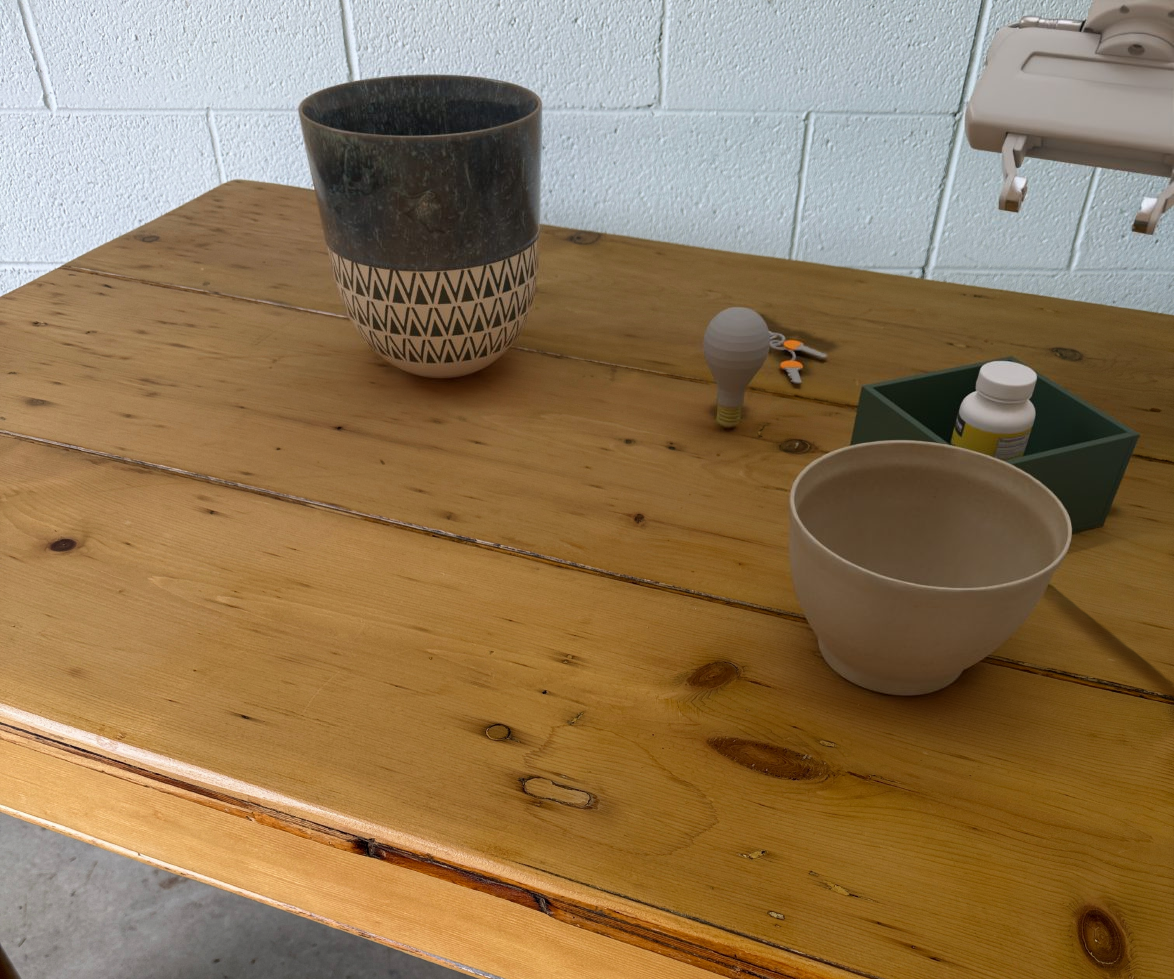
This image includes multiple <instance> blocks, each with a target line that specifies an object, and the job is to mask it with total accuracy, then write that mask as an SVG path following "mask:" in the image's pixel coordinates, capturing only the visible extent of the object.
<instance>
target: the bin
mask: <svg viewBox="0 0 1174 979" xmlns="http://www.w3.org/2000/svg"><path fill="white" fill-rule="evenodd" d="M994 361H1008V362H1015V363H1019V364H1022V365H1024V366H1027V367H1029V368H1031V369H1032V370H1033V371H1034V372H1035V373H1036V375H1037V380H1036V383H1035V387H1034V390H1033V393H1032V396H1031V398H1030V399H1028V400H1030V401H1031V403H1032V404H1033V406H1034V408H1035V419H1034V423H1033V426H1032V429H1031V432H1030V435H1029V438H1028V442H1027V445H1026V448H1025V451H1024V454H1023V457H1019V458H1014V459H1010V460H1006V461H1004V462H1007V463H1009V464H1011V465H1013V466H1015V467H1017V468H1019V469H1021V470H1023V471H1024V472H1026V473H1028V474H1029V475H1031V476H1032V477H1034V478H1035V479H1037V480H1038V481H1040V482H1041V483H1042V484H1043V485H1044V486H1046V487H1047V488H1048V489H1049V490H1050V491H1051V492H1053V494H1054V495H1055V496H1056V497H1057V498H1058V499H1059V501H1060V502H1061V503H1062V504H1063V506H1064V508H1065V509H1066V511H1067V513H1068V515H1069V518H1070V521H1071V526H1072V535H1073V534H1078V533H1080V532H1085V531H1089V530H1092V529H1096V528H1100V527H1103V526H1104V525H1105V522H1106V520H1107V517H1108V515H1109V512H1110V510H1111V507H1112V506H1113V503H1114V501H1115V497H1116V495H1117V494H1118V491H1119V488H1120V485H1121V483H1122V481H1123V477H1124V476H1125V473H1126V471H1127V468H1128V465H1129V463H1130V461H1131V458H1132V455H1133V453H1134V451H1135V449H1136V446H1137V444H1138V441H1139V439H1140V436H1141V434H1140V433H1139V432H1137V431H1136V430H1134V429H1132V428H1131V427H1129V426H1128V425H1126V424H1124V423H1123V422H1121V421H1119V420H1117V418H1115V417H1113V416H1111V415H1109V414H1107V413H1106V412H1105V411H1103V410H1101V409H1100V408H1098V407H1096V406H1095V405H1093V404H1092V403H1090V402H1088V401H1087V400H1085V399H1084V398H1081V397H1080V396H1078V395H1077V394H1075V393H1073V392H1072V391H1070V390H1068V389H1067V388H1065V387H1063V385H1060V384H1059V383H1057V382H1056V381H1054V380H1052V379H1050V378H1049V377H1047V376H1046V375H1044V374H1042V373H1041V372H1039V371H1037V370H1036V369H1034V368H1032V367H1031V366H1029V365H1028V364H1026V363H1024V362H1023V361H1021V360H1019V359H1018V358H1016V357H1014V356H1013V355H1010V356H1006V357H1000V358H996V359H995V358H994V359H990V360H985V361H984V360H983V361H980V362H975V363H969V364H965V365H960V366H955V367H949V368H945V369H940V370H935V371H930V372H929V371H928V372H923V373H919V374H915V375H909V376H903V377H899V378H893V379H889V380H883V381H878V382H874V383H869V384H863V385H861V389H860V393H859V397H858V403H857V408H856V413H855V419H854V423H853V428H852V433H851V439H850V444H849V446H852V445H856V444H862V443H869V442H876V441H890V440H911V441H923V442H933V443H940V444H946V445H950V442H951V439H952V435H953V431H954V427H955V423H956V420H957V416H958V412H959V409H960V406H961V404H962V402H963V400H964V399H965V398H966V397H967V396H968V395H969V394H971V393H973V392H975V391H976V382H977V379H978V376H979V372H980V369H981V367H982V366H983V365H985V364H987V363H990V362H994Z"/></svg>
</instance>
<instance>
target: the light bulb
mask: <svg viewBox="0 0 1174 979" xmlns="http://www.w3.org/2000/svg"><path fill="white" fill-rule="evenodd" d="M769 331H770V330H769V327H768V324H767V322H766V321H765V320H764V318H763V317H762V316H761V315H760V314H759V313H758V312H756V311H755V310H753V309H752V308H747V307H743V306H733V307H728V308H726V309H724V310H721V311H719V312H718V313H717V314H716V315H715V316H714V317H713V318H712V319H711V320H710V322H709V323H708V325H707V327H706V329H705V332H704V334H703V340H702V351H703V357H704V359H705V362H706V364H707V367H708V369H709V371H710V373H711V375H712V377H713V379H714V382H715V384H716V386H717V394H716V395H717V396H716V403H717V412H716V418H715V420H716V423H717V424H718V425H719V426H721V427H723V428H724V429H731V428H733V427H735V426H737V425H739V423H740V421H741V414H742V412H741V411H742V407H743V404H744V402H745V393H746V390H747V387H748V386H749V384H750V383H751V382H752V380H753V379H754V378H755V376H756V375H757V373H759V371H760V370H761V368H762V367H763V366H764V364H765V362H766V360H767V358H768V355H769V352H770V348H771V347H770V341H771V340H770V335H769Z"/></svg>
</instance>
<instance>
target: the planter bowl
mask: <svg viewBox="0 0 1174 979" xmlns="http://www.w3.org/2000/svg"><path fill="white" fill-rule="evenodd" d="M788 514H789V530H788V531H789V532H788V558H789V570H790V575H791V581H792V585H793V588H794V592H795V596H796V598H797V601H798V603H799V606H800V609H801V611H802V613H803V615H804V617H805V619H806V621H807V623H808V625H809V626H810V628H811V629H812V631H813V632H814V634H815V635H816V637H817V644H818V649H819V652H820V653H821V656H822V658H823V659H824V661H825V662H826V663H827V665H828V666H829V667H830V668H831V669H832V670H833V671H834V672H836V673H837V674H838V675H839V676H841V677H842V678H843V679H846V680H847V681H849V682H851V683H852V684H854V685H856V686H859V687H861V688H864V689H867V690H870V691H873V692H878V693H881V694H886V695H892V696H921V695H928V694H930V693H934V692H937V691H940V690H942V689H944V688H946V687H949V686H950V685H951V684H952V683H954V682H955V681H956V680H957V679H958V678H959V677H960V676H961V674H962V673H963V671H964V670H967V669H968V668H971V667H972V666H974V665H975V664H977V663H979V662H981V661H982V660H984V659H985V658H987V657H988V656H990V655H991V654H992V653H994V652H995V651H996V650H997V649H999V648H1000V647H1001V646H1002V645H1003V644H1004V643H1005V642H1007V641H1008V640H1009V639H1010V637H1012V636H1013V635H1014V633H1016V631H1018V629H1019V628H1020V627H1021V626H1022V625H1023V624H1024V622H1026V620H1027V619H1028V618H1029V617H1030V615H1031V614H1032V612H1033V611H1034V610H1035V608H1036V607H1037V606H1038V603H1039V601H1040V600H1041V599H1042V597H1043V595H1044V593H1045V592H1046V590H1047V588H1048V586H1049V584H1050V582H1051V580H1052V578H1053V575H1054V574H1055V573H1056V571H1057V570H1058V569H1059V567H1060V566H1061V565H1062V563H1063V561H1064V560H1065V558H1066V555H1067V553H1068V551H1069V549H1070V547H1071V543H1072V537H1073V534H1072V526H1071V521H1070V518H1069V515H1068V513H1067V511H1066V509H1065V508H1064V506H1063V504H1062V503H1061V502H1060V501H1059V499H1058V498H1057V497H1056V496H1055V495H1054V494H1053V492H1051V491H1050V490H1049V489H1048V488H1047V487H1046V486H1044V485H1043V484H1042V483H1041V482H1040V481H1038V480H1037V479H1035V478H1034V477H1032V476H1031V475H1029V474H1028V473H1026V472H1024V471H1023V470H1021V469H1019V468H1017V467H1015V466H1013V465H1011V464H1009V463H1007V462H1004V461H1002V460H999V459H997V458H994V457H991V456H988V455H985V454H982V453H978V452H975V451H971V450H968V449H964V448H960V447H955V446H951V445H946V444H940V443H933V442H923V441H911V440H890V441H876V442H869V443H862V444H856V445H852V446H850V445H849V446H845V447H840V448H838V449H835V450H832V451H830V452H828V453H826V454H824V455H822V456H820V457H818V458H816V459H814V460H813V461H811V462H810V463H809V464H808V465H806V467H804V468H803V470H802V471H800V473H799V474H798V475H797V476H796V478H795V480H794V481H793V483H792V486H791V489H790V492H789V500H788Z"/></svg>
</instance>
